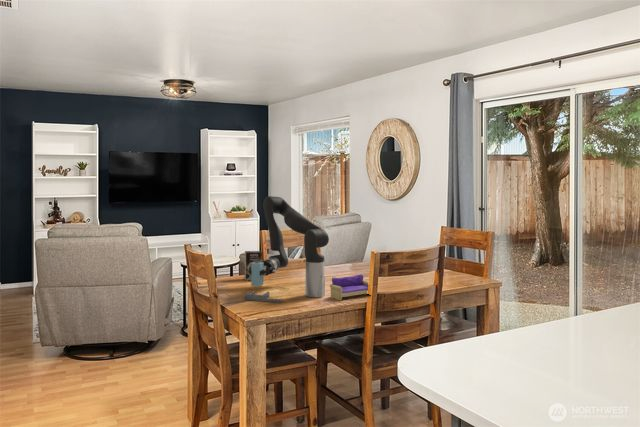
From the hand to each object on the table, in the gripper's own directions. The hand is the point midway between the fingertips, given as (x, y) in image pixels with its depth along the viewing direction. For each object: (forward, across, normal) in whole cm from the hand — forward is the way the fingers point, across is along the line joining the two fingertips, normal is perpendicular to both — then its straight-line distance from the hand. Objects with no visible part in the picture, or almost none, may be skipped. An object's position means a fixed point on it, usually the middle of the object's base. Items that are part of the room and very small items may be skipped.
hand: (255, 272), depth 261 cm
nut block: (-3, 0, +6) cm, 7 cm away
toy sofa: (-20, +43, +13) cm, 49 cm away
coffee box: (-44, -19, +14) cm, 50 cm away
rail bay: (-1, +5, +13) cm, 14 cm away
